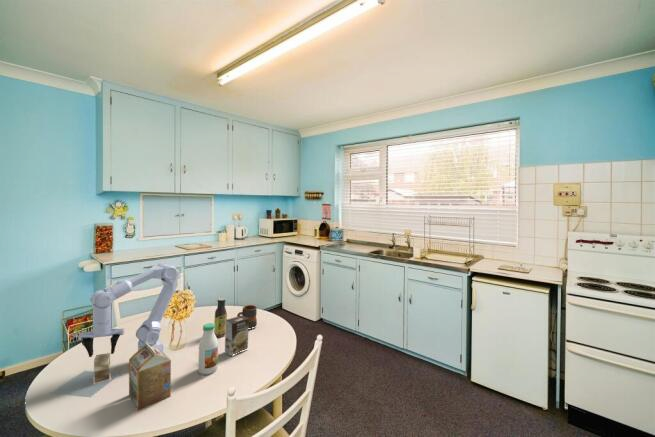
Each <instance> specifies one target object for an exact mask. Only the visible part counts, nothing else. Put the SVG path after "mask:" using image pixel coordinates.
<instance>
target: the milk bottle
mask: <svg viewBox="0 0 655 437" xmlns="http://www.w3.org/2000/svg"><path fill="white" fill-rule="evenodd" d="M214 328H215V325H214V323H212V322H210V323H209V322H207V323H205V324H204V325H203V326H202V331H203V333H202V336H201V338H200V340H199V344H198V345H199V346H198V373H199V374H200V373H201V374H200V375H205V374H206V375H210V374H211V375H212V374H213V373H215V372H216V371H217V370H218V366H219V364H218V363H219V360H218V359H219V343H218V337H216V336H215V333H214Z"/></svg>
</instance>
